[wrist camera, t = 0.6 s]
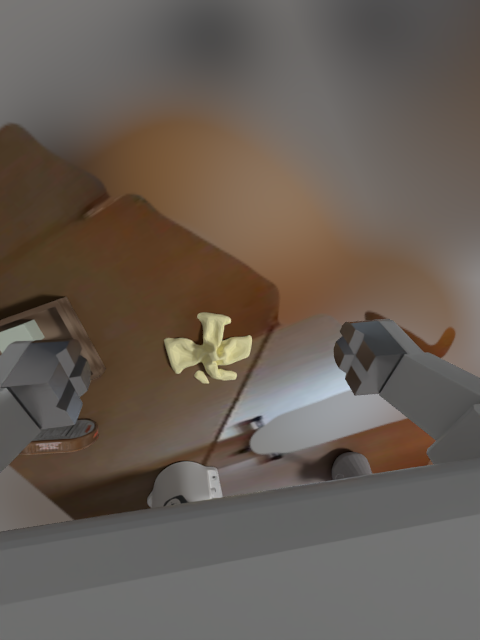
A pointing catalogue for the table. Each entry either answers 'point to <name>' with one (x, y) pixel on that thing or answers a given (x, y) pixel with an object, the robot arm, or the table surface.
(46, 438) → the tin
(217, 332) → the cloth
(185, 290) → the table surface
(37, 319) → the caddy
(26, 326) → the sage block
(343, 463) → the coffee pot
